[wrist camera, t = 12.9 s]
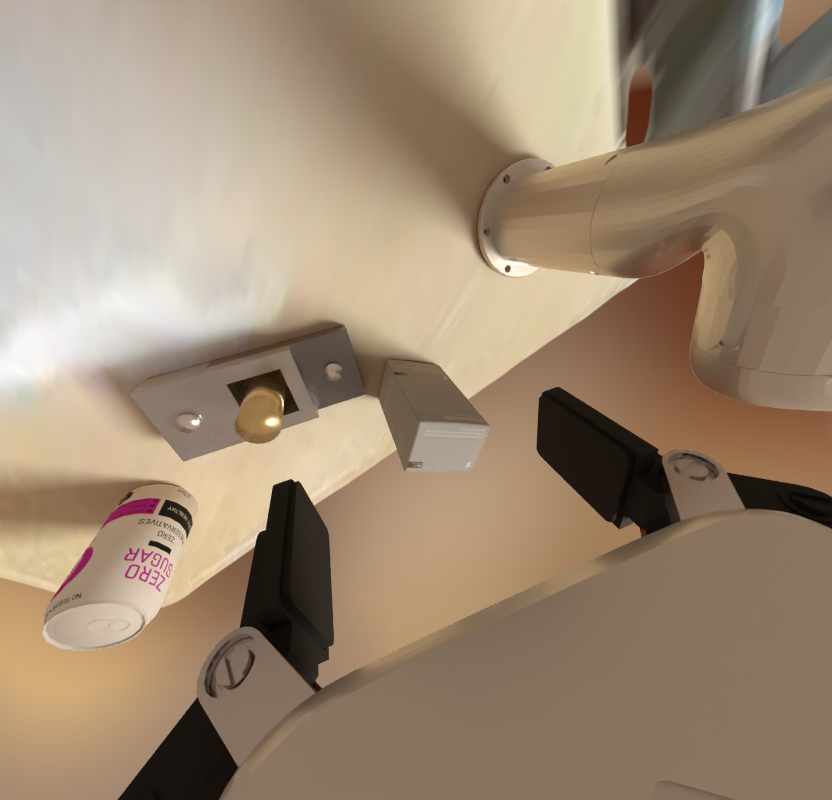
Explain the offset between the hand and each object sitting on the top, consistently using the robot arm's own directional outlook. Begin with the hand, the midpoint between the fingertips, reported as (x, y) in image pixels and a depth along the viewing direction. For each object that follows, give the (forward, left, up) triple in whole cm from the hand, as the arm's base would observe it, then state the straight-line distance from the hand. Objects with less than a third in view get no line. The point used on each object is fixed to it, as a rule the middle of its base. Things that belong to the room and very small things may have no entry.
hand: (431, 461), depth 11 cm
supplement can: (+31, +19, -29) cm, 46 cm away
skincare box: (-6, +13, -29) cm, 32 cm away
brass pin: (+11, +7, -29) cm, 32 cm away
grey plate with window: (+12, +7, -29) cm, 32 cm away
